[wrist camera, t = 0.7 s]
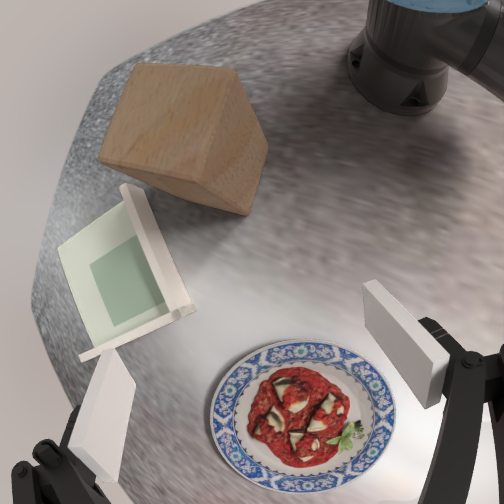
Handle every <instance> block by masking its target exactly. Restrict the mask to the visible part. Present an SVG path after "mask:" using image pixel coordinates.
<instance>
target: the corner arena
mask: <svg viewBox="0 0 504 504" xmlns="http://www.w3.org/2000/svg"><path fill="white" fill-rule="evenodd" d="M119 189H120V192H121V194H122V197H123V201H122V202H120V203H119V204H117V205H116V206H114V207H113V208H111V209H110V210H109V211H107V212H106V213H104V214H103V215H101V216H100V217H99V218H97V219H96V220H94V221H93V222H92V223H90V224H89V225H87V226H86V227H85V228H83V229H82V230H81V231H79V232H78V233H76V234H75V235H74V236H72V237H71V238H70V239H68V240H67V241H66V242H65V243H63V244H62V245H61V246H59V247H58V248H57V251H58V254H59V257H60V260H61V263H62V266H63V269H64V272H65V275H66V278H67V281H68V284H69V287H70V289H71V292H72V295H73V297H74V300H75V303H76V305H77V308H78V310H79V313H80V315H81V318H82V320H83V323H84V325H85V328H86V330H87V332H88V335H89V337H90V339H91V341H92V344H93V346H94V348H93V349H91V350H89V351H87V352H84V353H82V354H80V355H78V356H79V358H80V360H81V363H82V362H84V361H87V360H89V359H92V358H94V357H96V356H99V355H101V353H102V351H103V350H106V349H111V348H117V347H119V346H121V345H124V344H126V343H128V342H130V341H132V340H135V339H137V338H139V337H141V336H143V335H146V334H148V333H150V332H152V331H154V330H157V329H159V328H161V327H163V326H165V325H167V324H170V323H172V322H174V321H176V320H178V319H180V318H183V317H185V316H187V315H189V314H191V313H193V312H195V311H196V309H195V307H194V305H193V303H192V301H191V299H190V297H189V294H188V292H187V290H186V288H185V286H184V284H183V281H182V279H181V277H180V275H179V273H178V270H177V268H176V266H175V264H174V261H173V259H172V257H171V255H170V252H169V250H168V248H167V245H166V243H165V241H164V238H163V236H162V234H161V231H160V229H159V227H158V224H157V222H156V220H155V217H154V215H153V212H152V210H151V207H150V205H149V202H148V200H147V197H146V195H145V192H144V190H143V189H141V188H139V187H136V186H134V185H131V184H128V183H126V182H125V183H124V184H122V185H121V186H120V187H119Z"/></svg>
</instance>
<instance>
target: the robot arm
mask: <svg viewBox="0 0 504 504" xmlns="http://www.w3.org/2000/svg"><path fill="white" fill-rule="evenodd" d="M448 65H449V66H451V67H452V68H454V69H456V70H458V71H459V72H461V73H462V74H464V75H465V76H467V77H468V78H470V79H471V80H473V81H474V82H476V83H477V84H479V85H480V86H482V87H483V88H485V89H486V90H488V91H489V92H491V93H492V94H493V95H495V96H496V97H497V98H499V99H500V100H501V101H503V102H504V0H369V7H368V14H367V20H366V26H365V27H364V28H363V30H362V31H361V32H360V33H359V34H358V36H357V37H356V38H355V39H354V41H353V42H352V44H351V46H350V49H349V54H348V62H347V66H348V72H349V76H350V78H351V80H352V82H353V84H354V86H355V87H356V89H357V90H358V91H359V92H360V93H361V94H362V95H363V96H364V97H365V98H366V99H367V100H368V101H369V102H371V103H372V104H374V105H375V106H377V107H379V108H381V109H383V110H385V111H388V112H390V113H394V114H398V115H405V116H414V115H420V114H423V113H426V112H428V111H430V110H431V109H433V108H434V107H435V106H436V105H437V104H438V103H439V101H440V100H441V98H442V97H443V95H444V93H445V91H446V88H447V82H448ZM362 288H363V301H364V315H365V327H366V328H367V330H368V331H369V332H370V334H371V335H372V336H373V338H374V339H375V340H376V342H377V343H378V344H379V346H380V347H381V349H382V350H383V351H384V353H385V354H386V355H387V357H388V358H389V360H390V361H391V362H392V364H393V365H394V367H395V368H396V369H397V371H398V372H399V374H400V375H401V376H402V378H403V379H404V381H405V382H406V383H407V385H408V386H409V388H410V389H411V391H412V392H413V393H414V395H415V396H416V398H417V399H418V401H419V402H420V403H421V405H422V406H423V408H424V409H427V408H429V407H431V406H433V405H435V404H437V403H439V402H440V399H441V395H442V394H443V395H444V396H445V397H446V399H447V400H446V404H445V408H444V411H443V419H442V423H441V427H440V432H439V436H438V440H437V444H436V447H435V451H434V455H433V458H432V462H431V465H430V468H429V472H428V475H427V478H426V481H425V484H424V487H423V490H422V493H421V496H420V498H419V501H418V504H465V503H466V499H467V496H468V491H469V488H470V483H471V479H472V474H473V470H474V465H475V460H476V455H477V449H478V442H479V436H480V429H481V422H482V413H483V403H486V402H488V406H489V412H490V417H491V423H492V429H493V436H494V443H495V451H496V459H497V471H498V484H499V504H504V344H503V345H502V346H501V349H500V352H499V353H497V354H493V355H489V356H482V355H481V354H479V353H478V352H474V351H466V350H465V349H464V348H463V347H462V346H461V345H460V344H459V343H458V342H457V341H456V340H455V339H454V338H453V337H452V336H451V335H450V334H448V332H447V331H446V330H445V329H443V328H442V327H441V326H440V325H439V324H438V323H437V322H436V321H435V320H432V319H430V318H428V317H425V318H423V319H420V320H418V321H417V320H416V319H415V318H414V317H413V316H412V315H411V314H410V313H409V312H408V311H407V310H406V309H405V308H404V307H403V306H402V305H401V304H400V303H399V302H398V301H397V300H396V299H395V298H394V297H393V296H392V295H391V294H390V293H389V292H388V291H387V290H386V289H385V288H384V287H383V286H382V285H381V284H380V283H379V282H378V281H377V280H376V279H374V280H371V281H368V282H365V283H362ZM135 388H136V384H135V382H134V380H133V379H132V377H131V375H130V374H129V372H128V370H127V368H126V367H125V365H124V363H123V361H122V360H121V358H120V356H119V354H118V353H117V351H116V349H115V348H111V349H106V350H103V351H102V353H101V356H100V358H99V361H98V363H97V366H96V368H95V371H94V373H93V376H92V379H91V381H90V384H89V386H88V389H87V392H86V395H85V397H84V400H83V403H82V405H81V406H76V408H75V409H74V410H73V411H72V413H71V415H70V417H69V420H68V423H67V426H66V430H65V432H64V434H63V437H62V440H61V443H60V446H59V447H58V446H57V445H56V444H55V442H54V441H53V440H50V439H45V440H42V441H40V442H39V443H38V444H37V445H36V446H35V447H34V449H33V453H32V455H33V458H34V459H35V460H36V461H37V462H38V463H39V464H40V465H38V466H35V467H33V466H32V465H31V464H30V463H28V462H27V461H20V462H19V463H17V464H16V465H15V466H14V467H13V470H12V474H11V478H12V494H13V504H111V503H110V502H109V500H108V499H107V498H106V496H105V495H104V493H103V491H102V490H101V489H100V487H99V486H98V485H97V484H96V483H95V478H96V476H97V477H98V478H99V479H100V480H101V481H103V482H118V477H119V471H120V465H121V459H122V453H123V448H124V442H125V437H126V432H127V426H128V421H129V417H130V412H131V407H132V402H133V398H134V393H135Z"/></svg>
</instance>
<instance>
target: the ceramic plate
mask: <svg viewBox="0 0 504 504" xmlns="http://www.w3.org/2000/svg"><path fill="white" fill-rule="evenodd" d="M395 425H396V403H395V398H394V394H393V392H392V389H391V387H390V385H389V383H388V381H387V379H386V378H385V376H384V375H383V373H382V372H381V371H380V370H379V369H378V367H377V366H376V365H374V364H373V363H372V362H371V361H370V360H369V359H367V358H366V357H365V356H363V355H362V354H360V353H358V352H356V351H355V350H353V349H350V348H348V347H346V346H343V345H340V344H337V343H334V342H329V341H324V340H317V339H295V340H287V341H282V342H278V343H274V344H271V345H268V346H265V347H263V348H260V349H258V350H256V351H254V352H252V353H250V354H249V355H247V356H246V357H244V358H243V359H242V360H240V361H239V362H237V363H236V364H235V365H234V366H233V367H232V368H231V369H230V370H229V371H228V372H227V373H226V375H225V376H224V377H223V378H222V380H221V382H220V383H219V385H218V387H217V389H216V391H215V393H214V396H213V399H212V403H211V409H210V426H211V432H212V436H213V439H214V441H215V444H216V446H217V448H218V450H219V452H220V453H221V455H222V456H223V458H224V459H225V460H226V462H227V463H228V464H229V465H230V466H231V467H232V468H233V469H234V470H235V471H236V472H237V473H239V474H240V475H241V476H243V477H244V478H246V479H247V480H249V481H251V482H253V483H255V484H257V485H259V486H261V487H264V488H266V489H269V490H273V491H277V492H281V493H288V494H315V493H321V492H326V491H330V490H333V489H336V488H339V487H342V486H344V485H346V484H348V483H350V482H352V481H354V480H356V479H357V478H359V477H360V476H362V475H363V474H364V473H366V472H367V471H368V470H369V469H370V468H372V467H373V466H374V465H375V464H376V462H377V461H378V460H379V459H380V458H381V457H382V455H383V454H384V452H385V451H386V449H387V447H388V445H389V443H390V441H391V439H392V436H393V433H394V430H395Z"/></svg>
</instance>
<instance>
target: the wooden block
mask: <svg viewBox="0 0 504 504" xmlns="http://www.w3.org/2000/svg"><path fill="white" fill-rule="evenodd" d="M268 151H269V145H268V143H267V141H266V138H265V136H264V134H263V131H262V129H261V127H260V124H259V122H258V120H257V118H256V115H255V113H254V111H253V108H252V106H251V104H250V102H249V99H248V97H247V95H246V93H245V91H244V88H243V86H242V84H241V82H240V80H239V77H238V75H237V73H236V71H235V70H233V69H231V68H223V67H212V66H200V65H185V64H160V63H138V64H136V65H135V66H134V68H133V70H132V73H131V75H130V77H129V79H128V81H127V84H126V86H125V88H124V90H123V93H122V95H121V97H120V100H119V102H118V105H117V107H116V110H115V112H114V115H113V117H112V120H111V122H110V125H109V128H108V130H107V133H106V136H105V139H104V141H103V144H102V147H101V150H100V153H99V156H98V161H99V162H100V163H101V164H103V165H105V166H107V167H110V168H112V169H114V170H117V171H119V172H121V173H124V174H126V175H128V176H131V177H133V178H135V179H138V180H140V181H142V182H144V183H147V184H149V185H151V186H154V187H156V188H158V189H161V190H163V191H165V192H167V193H170V194H172V195H174V196H176V197H179V198H181V199H183V200H187V201H191V202H195V203H198V204H202V205H206V206H210V207H214V208H217V209H221V210H225V211H229V212H232V213H236V214H240V215H244V216H248V215H249V214H250V212H251V208H252V205H253V201H254V198H255V195H256V191H257V188H258V184H259V181H260V178H261V174H262V171H263V168H264V164H265V161H266V157H267V154H268Z"/></svg>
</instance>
